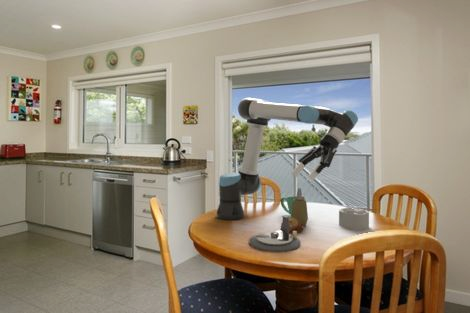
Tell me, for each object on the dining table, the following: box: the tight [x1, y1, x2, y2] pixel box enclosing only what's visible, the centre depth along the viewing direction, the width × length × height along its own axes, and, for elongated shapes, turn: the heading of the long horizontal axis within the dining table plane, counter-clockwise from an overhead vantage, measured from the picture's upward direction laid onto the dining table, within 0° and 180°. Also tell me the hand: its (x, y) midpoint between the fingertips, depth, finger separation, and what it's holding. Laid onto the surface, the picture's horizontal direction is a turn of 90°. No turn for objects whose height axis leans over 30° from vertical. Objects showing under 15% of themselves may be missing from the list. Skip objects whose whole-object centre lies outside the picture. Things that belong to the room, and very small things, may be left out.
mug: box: [280, 196, 306, 216], centre depth 167 cm, size 15×10×10 cm
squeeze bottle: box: [290, 187, 309, 227], centre depth 147 cm, size 8×8×18 cm
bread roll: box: [279, 216, 304, 235], centre depth 138 cm, size 10×10×8 cm
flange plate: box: [256, 215, 293, 246], centre depth 122 cm, size 14×16×10 cm
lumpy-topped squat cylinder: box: [338, 206, 370, 231], centre depth 145 cm, size 10×13×9 cm
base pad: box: [249, 231, 301, 253], centre depth 122 cm, size 20×20×4 cm
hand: (301, 176), depth 128 cm, fingers open, 12 cm apart
